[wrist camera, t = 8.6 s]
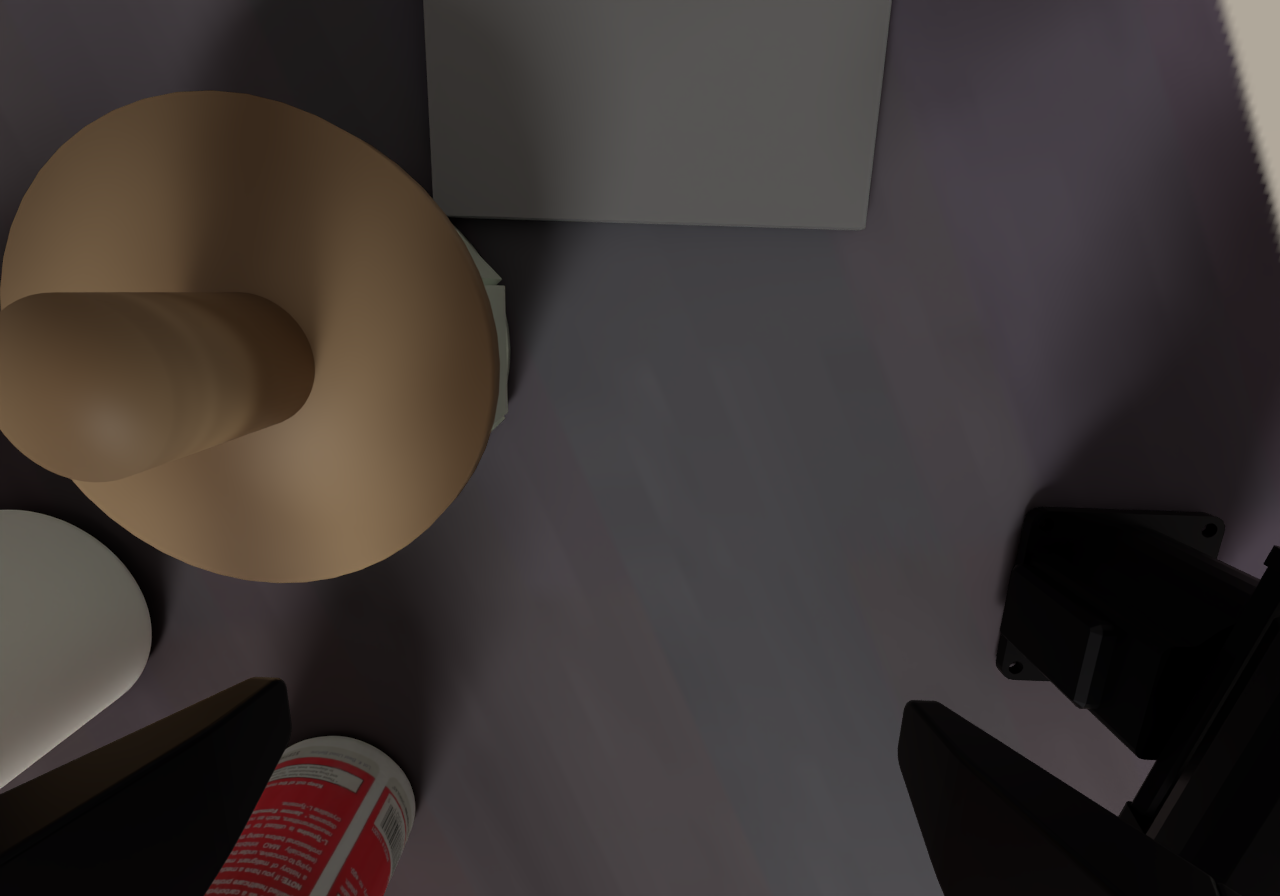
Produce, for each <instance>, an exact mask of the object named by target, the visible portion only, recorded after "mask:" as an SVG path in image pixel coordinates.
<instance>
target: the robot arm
mask: <svg viewBox="0 0 1280 896" xmlns="http://www.w3.org/2000/svg"><path fill="white" fill-rule="evenodd" d="M1044 518H1046V523H1045V524H1044V525H1043V526H1042V527H1039V523H1040V521H1041V520H1042V519H1044ZM1206 525H1207V527H1206V529H1205V530H1204V531H1203V532H1202V529H1203V528H1204V526H1206ZM1224 531H1225V525H1224V522H1223V521H1222V520H1221V519H1220V518H1218V517H1216V516H1213V515H1211V514H1208V513H1203V512H1176V511H1147V510H1118V509H1089V508H1059V507H1038V508H1034V509H1033V510H1031V511H1030V512H1029V513H1028V514H1027V515H1026V517H1025V519H1024V524H1023V529H1022V534H1021V539H1020V544H1019V549H1018V554H1017V559H1016V564H1015V567H1014V568H1013V570H1012V573H1011V578H1010V583H1009V588H1008V593H1007V598H1006V603H1005V608H1004V613H1003V618H1002V623H1001V628H1000V632H1001V638H1000V643H999V648H998V653H997V658H996V666H997V668H998V670H999V671H1000V672H1001V673H1002V674H1003V675H1004V676H1005V677H1007V678H1008V679H1012V680H1031V681H1051V682H1052V683H1053V684H1054V685H1055V686H1056V687H1057V688H1058V689H1059V690H1060V691H1061V692H1062V693H1063V694H1064V695H1065V696H1066V697H1067V698H1068V699H1069V700H1070V701H1071V702H1072V703H1073V704H1074V705H1075V706H1076V707H1078V708H1080V709H1088V710H1089V711H1090V712H1091V713H1092V714H1093V715H1094V716H1095V717H1096V718H1097V719H1098V720H1099V721H1100V722H1101V723H1102V724H1103V725H1105V726H1106V727H1107V728H1108V729H1109V730H1110V731H1111V732H1112V733H1113V734H1114V735H1115V736H1116V737H1117V738H1118V739H1119V740H1120V741H1121V742H1122V743H1123V744H1124V745H1126V746H1127V747H1128V748H1129V749H1130V750H1131V751H1132V752H1133V753H1134V754H1135V755H1136V756H1137V757H1138V758H1140V759H1144V760H1156V762H1155V763H1154V765H1153V767H1152V769H1151V770H1150V772H1149V774H1148V776H1147V777H1146V779H1145V781H1144V782H1143V784H1142V786H1141V788H1140V789H1139V791H1138V793H1137V795H1136V796H1135V798H1134V800H1133V802H1131V801H1127V802H1126V804H1125V806H1124V808H1123V809H1122V811H1121V813H1120V815H1119V816H1118V817H1117V816H1116V815H1114V814H1113V813H1111V812H1110V811H1108V810H1107V809H1105V808H1103V807H1102V806H1100V805H1099V804H1097V803H1096V802H1094V801H1092V800H1091V799H1089V798H1088V797H1086V796H1085V795H1083V794H1082V793H1080V792H1078V791H1077V790H1075V789H1074V788H1072V787H1071V786H1069V785H1067V784H1066V783H1064V782H1063V781H1061V780H1060V779H1058V778H1057V777H1055V776H1053V775H1052V774H1050V773H1049V772H1047V771H1046V770H1044V769H1042V768H1041V767H1039V766H1038V765H1036V764H1035V763H1033V762H1031V761H1030V760H1028V759H1027V758H1025V757H1024V756H1022V755H1021V754H1019V753H1017V752H1016V751H1014V750H1013V749H1011V748H1010V747H1008V746H1006V745H1005V744H1003V743H1002V742H1000V741H999V740H997V739H996V738H994V737H992V736H991V735H989V734H988V733H986V732H985V731H983V730H981V729H980V728H978V727H977V726H975V725H974V724H972V723H971V722H969V721H967V720H966V719H964V718H963V717H961V716H960V715H958V714H956V713H955V712H953V711H952V710H950V709H949V708H947V707H946V706H944V705H942V704H941V703H939V702H936V701H922V700H911V701H909V702H908V703H907V704H906V705H905V708H904V712H903V718H902V725H901V731H900V737H899V743H898V761H899V766H900V769H901V772H902V775H903V778H904V781H905V784H906V787H907V790H908V793H909V796H910V799H911V802H912V805H913V808H914V811H915V814H916V817H917V820H918V823H919V826H920V829H921V832H922V836H923V839H924V842H925V845H926V848H927V851H928V854H929V857H930V860H931V862H932V865H933V868H934V871H935V874H936V876H937V879H938V881H939V884H940V886H941V889H942V891H943V893H944V896H1280V547H1279V546H1275V545H1274V546H1273V548H1272V550H1271V552H1270V553H1269V555H1268V557H1267V559H1266V560H1265V562H1264V565H1266V566H1268V568H1267V569H1266V571H1265V573H1264V575H1263V576H1262V578H1261V580H1260V579H1258V578H1256V577H1254V576H1251V575H1249V574H1247V573H1245V572H1243V571H1241V570H1239V569H1237V568H1234V567H1232V566H1230V565H1228V564H1226V563H1224V562H1222V561H1220V560H1217V555H1218V552H1219V548H1220V545H1221V542H1222V538H1223V535H1224ZM1013 662H1016V664H1015V665H1014V666H1012V667H1009V666H1010V664H1012V663H1013ZM290 736H291V717H290V710H289V702H288V695H287V688H286V684H285V683H284V681H283V680H282V679H280V678H269V677H253V678H250V679H247V680H245V681H243V682H241V683H239V684H237V685H234V686H232V687H230V688H228V689H226V690H224V691H221V692H219V693H217V694H215V695H213V696H211V697H209V698H206V699H204V700H202V701H200V702H198V703H196V704H194V705H191V706H189V707H187V708H185V709H183V710H181V711H178V712H176V713H174V714H172V715H170V716H168V717H166V718H163V719H161V720H159V721H157V722H155V723H153V724H151V725H148V726H146V727H144V728H142V729H140V730H138V731H135V732H133V733H131V734H129V735H127V736H125V737H123V738H120V739H118V740H116V741H114V742H112V743H110V744H108V745H105V746H103V747H101V748H99V749H97V750H95V751H92V752H90V753H88V754H86V755H84V756H82V757H80V758H77V759H75V760H73V761H71V762H69V763H67V764H65V765H62V766H60V767H58V768H56V769H54V770H52V771H49V772H47V773H45V774H43V775H41V776H39V777H37V778H34V779H32V780H30V781H28V782H26V783H24V784H22V785H19V786H17V787H15V788H13V789H11V790H9V791H6V792H4V793H2V794H0V896H204V895H205V894H206V892H207V890H208V889H209V887H210V886H211V884H212V883H213V881H214V879H215V878H216V876H217V875H218V873H219V872H220V870H221V868H222V867H223V865H224V863H225V862H226V860H227V858H228V857H229V855H230V853H231V852H232V850H233V848H234V846H235V845H236V843H237V841H238V839H239V837H240V836H241V834H242V832H243V830H244V828H245V826H246V824H247V822H248V820H249V818H250V816H251V815H252V813H253V811H254V809H255V807H256V805H257V803H258V801H259V799H260V797H261V795H262V793H263V791H264V789H265V788H266V786H267V784H268V782H269V780H270V778H271V776H272V774H273V772H274V770H275V768H276V766H277V764H278V762H279V761H280V759H281V757H282V755H283V753H284V751H285V749H286V747H287V745H288V742H289V739H290Z"/></svg>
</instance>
